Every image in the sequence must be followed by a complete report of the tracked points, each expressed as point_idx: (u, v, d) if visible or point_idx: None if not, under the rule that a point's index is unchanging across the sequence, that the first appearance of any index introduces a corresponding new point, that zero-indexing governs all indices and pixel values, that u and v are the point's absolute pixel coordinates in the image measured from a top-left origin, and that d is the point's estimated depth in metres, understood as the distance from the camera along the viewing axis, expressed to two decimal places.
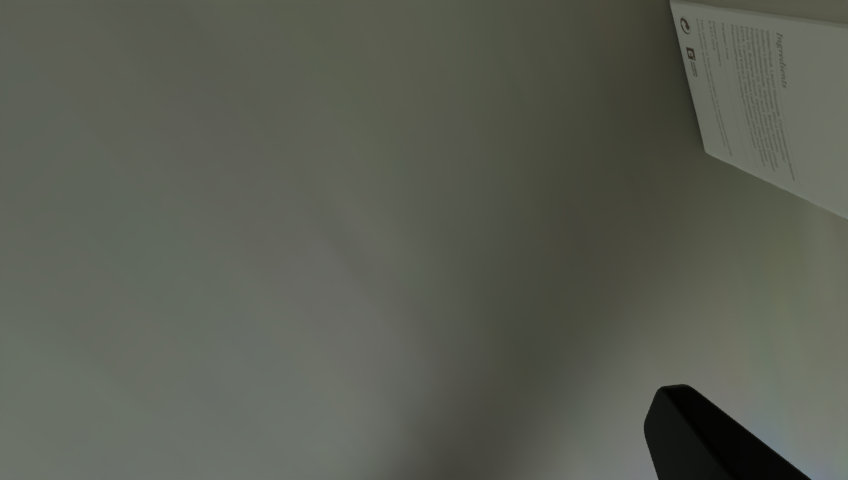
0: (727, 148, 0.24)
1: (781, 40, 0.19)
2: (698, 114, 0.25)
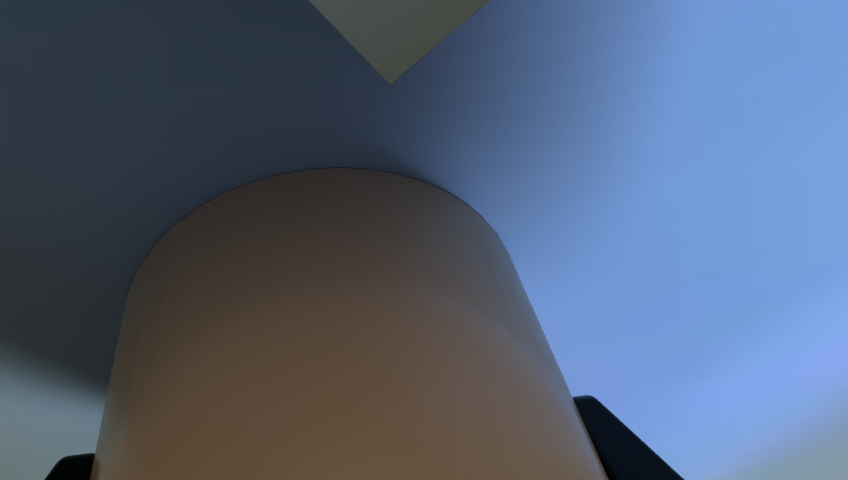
0: None
1: None
2: None
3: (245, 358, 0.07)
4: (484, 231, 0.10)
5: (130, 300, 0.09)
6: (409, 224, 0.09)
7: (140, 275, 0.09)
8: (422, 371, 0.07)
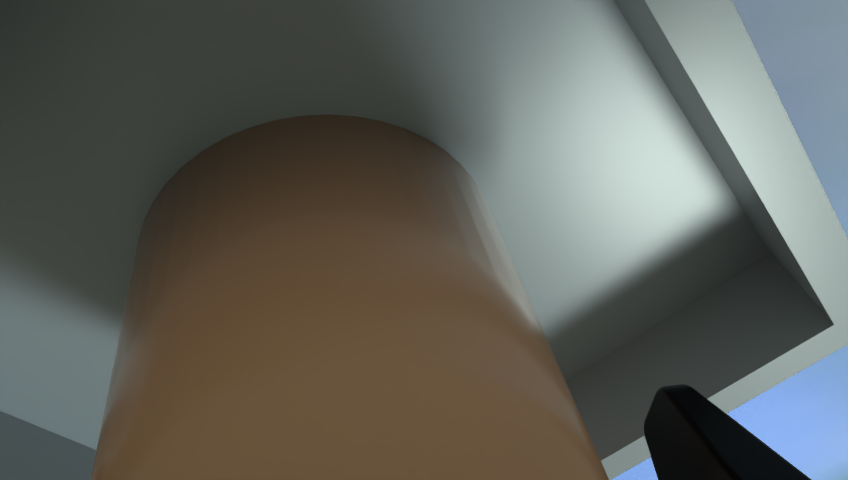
0: None
1: None
2: None
3: (248, 261, 0.08)
4: (460, 174, 0.11)
5: (143, 233, 0.10)
6: (391, 161, 0.10)
7: (152, 211, 0.10)
8: (398, 271, 0.08)
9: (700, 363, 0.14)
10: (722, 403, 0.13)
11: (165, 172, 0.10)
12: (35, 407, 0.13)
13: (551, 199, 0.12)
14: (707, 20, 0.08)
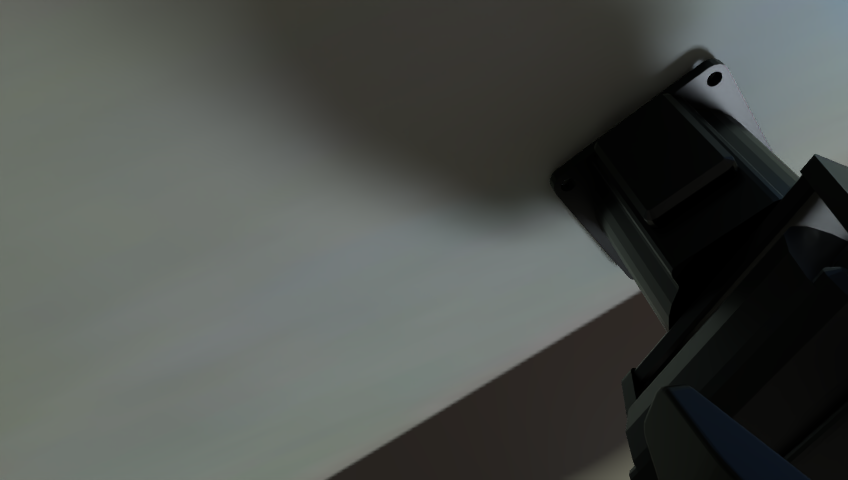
0: None
1: None
2: None
3: None
4: None
5: None
6: None
7: None
8: None
9: None
10: None
11: None
12: None
13: None
14: None
